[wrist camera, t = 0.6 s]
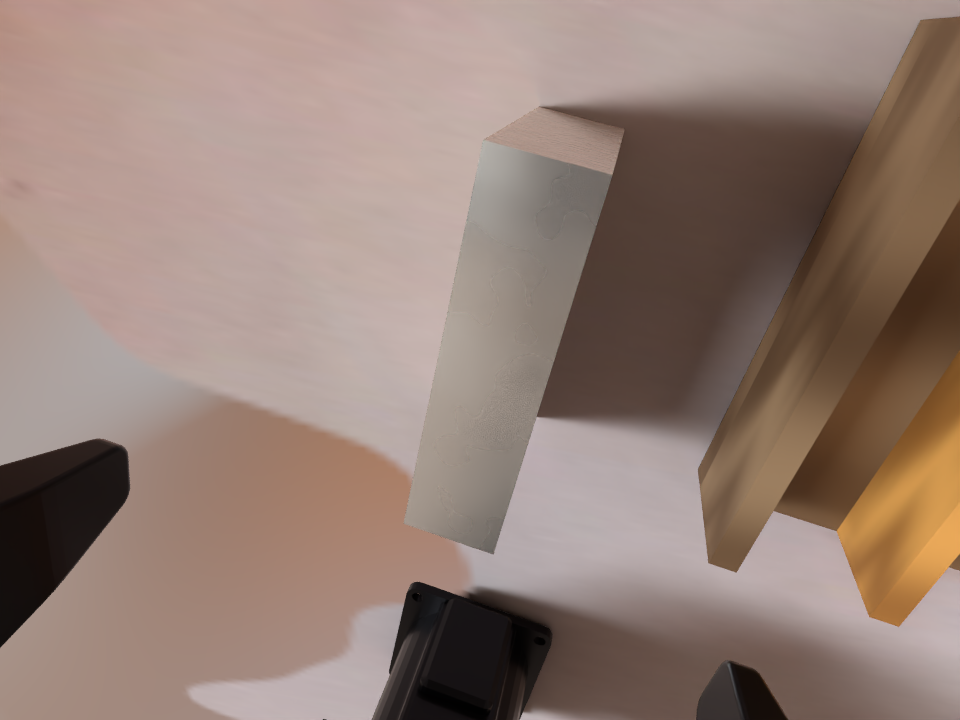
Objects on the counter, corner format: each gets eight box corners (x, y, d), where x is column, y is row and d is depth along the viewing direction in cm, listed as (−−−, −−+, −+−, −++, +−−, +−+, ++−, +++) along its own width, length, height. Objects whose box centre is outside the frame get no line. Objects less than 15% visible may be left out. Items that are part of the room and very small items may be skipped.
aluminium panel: (535, 415, 22) (493, 554, 16) (468, 394, 23) (403, 523, 17) (625, 128, 18) (612, 174, 12) (539, 106, 18) (483, 140, 12)
